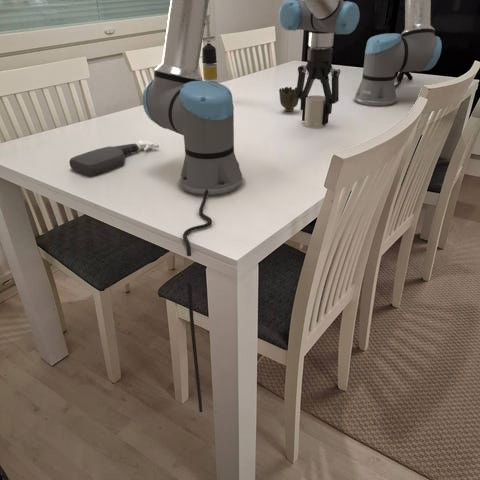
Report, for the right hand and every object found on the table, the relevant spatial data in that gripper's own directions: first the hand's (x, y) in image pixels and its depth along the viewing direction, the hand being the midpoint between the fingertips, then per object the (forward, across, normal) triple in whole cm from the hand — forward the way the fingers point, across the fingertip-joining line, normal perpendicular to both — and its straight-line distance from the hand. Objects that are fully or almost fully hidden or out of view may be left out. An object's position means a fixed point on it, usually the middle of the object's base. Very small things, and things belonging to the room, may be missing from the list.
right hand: (479, 11), depth 128 cm
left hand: (+32, -34, -29) cm, 55 cm away
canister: (+33, -34, -29) cm, 56 cm away
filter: (+33, -85, -29) cm, 95 cm away
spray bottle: (+33, -56, -91) cm, 112 cm away
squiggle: (+33, -43, +48) cm, 73 cm away
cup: (+33, -49, -23) cm, 64 cm away
